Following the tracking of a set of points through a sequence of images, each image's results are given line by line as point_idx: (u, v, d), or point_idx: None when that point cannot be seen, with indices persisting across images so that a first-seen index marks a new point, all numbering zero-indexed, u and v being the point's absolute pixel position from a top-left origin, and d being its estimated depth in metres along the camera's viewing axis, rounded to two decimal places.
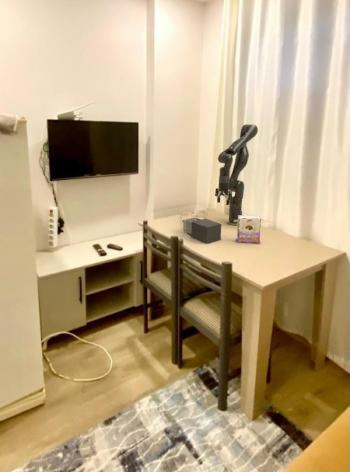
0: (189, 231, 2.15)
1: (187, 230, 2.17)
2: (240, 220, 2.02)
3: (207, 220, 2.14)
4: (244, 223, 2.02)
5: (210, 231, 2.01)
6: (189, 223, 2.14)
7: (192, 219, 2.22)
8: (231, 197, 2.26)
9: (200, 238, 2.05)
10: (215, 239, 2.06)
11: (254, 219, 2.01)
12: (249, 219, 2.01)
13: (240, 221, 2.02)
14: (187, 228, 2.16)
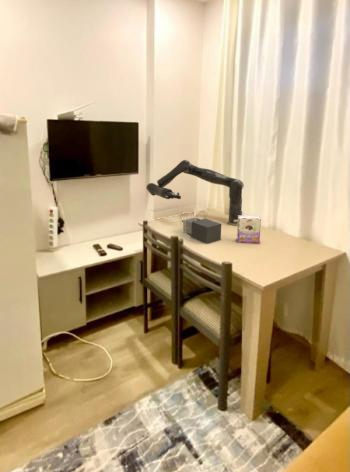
0: (189, 231, 2.15)
1: (187, 230, 2.17)
2: (240, 220, 2.02)
3: (207, 220, 2.14)
4: (244, 223, 2.02)
5: (210, 231, 2.01)
6: (189, 223, 2.14)
7: (192, 219, 2.22)
8: (171, 195, 2.29)
9: (200, 238, 2.05)
10: (215, 239, 2.06)
11: (254, 219, 2.01)
12: (249, 219, 2.01)
13: (240, 221, 2.02)
14: (187, 228, 2.16)
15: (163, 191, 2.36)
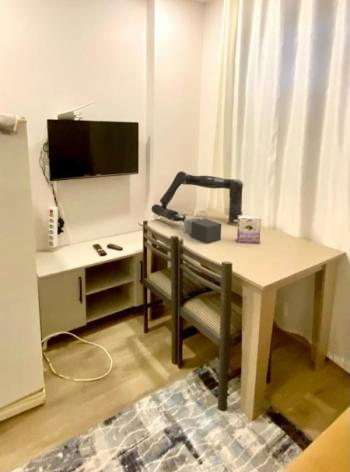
0: (190, 231, 2.14)
1: (188, 230, 2.16)
2: (240, 220, 2.02)
3: (207, 220, 2.14)
4: (244, 223, 2.02)
5: (210, 231, 2.01)
6: (190, 224, 2.13)
7: (193, 219, 2.21)
8: (177, 218, 2.26)
9: (200, 238, 2.05)
10: (215, 239, 2.06)
11: (254, 219, 2.01)
12: (249, 219, 2.01)
13: (240, 221, 2.02)
14: (188, 228, 2.16)
15: (169, 213, 2.34)
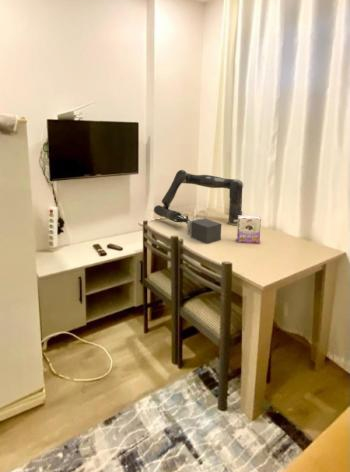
0: None
1: None
2: (240, 220, 2.02)
3: (207, 220, 2.14)
4: (244, 223, 2.02)
5: (210, 231, 2.01)
6: None
7: (196, 220, 2.19)
8: (180, 219, 2.24)
9: (200, 238, 2.05)
10: (215, 239, 2.06)
11: (254, 219, 2.01)
12: (249, 219, 2.01)
13: (240, 221, 2.02)
14: None
15: (172, 214, 2.32)
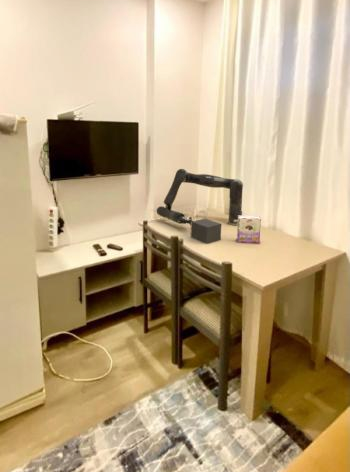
0: None
1: None
2: (240, 220, 2.02)
3: (207, 220, 2.14)
4: (244, 223, 2.02)
5: (210, 231, 2.01)
6: None
7: None
8: (184, 220, 2.21)
9: (200, 238, 2.05)
10: (215, 239, 2.06)
11: (254, 219, 2.01)
12: (249, 219, 2.01)
13: (240, 221, 2.02)
14: None
15: (175, 215, 2.29)
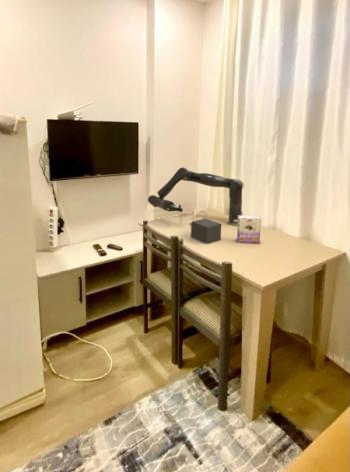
0: None
1: None
2: (240, 220, 2.02)
3: (207, 220, 2.14)
4: (244, 223, 2.02)
5: (210, 231, 2.01)
6: None
7: None
8: (173, 208, 2.29)
9: (200, 238, 2.05)
10: (215, 239, 2.06)
11: (254, 219, 2.01)
12: (249, 219, 2.01)
13: (240, 221, 2.02)
14: None
15: (165, 203, 2.37)
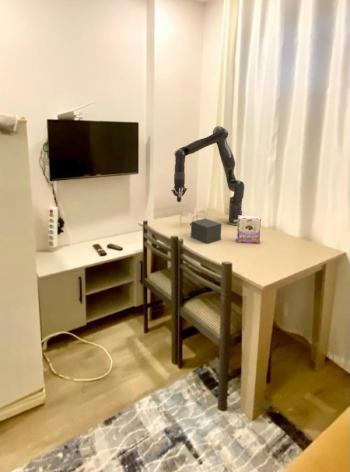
0: None
1: None
2: (240, 220, 2.02)
3: (207, 220, 2.14)
4: (244, 223, 2.02)
5: (210, 231, 2.01)
6: None
7: None
8: (176, 195, 2.25)
9: (200, 238, 2.05)
10: (215, 239, 2.06)
11: (254, 219, 2.01)
12: (249, 219, 2.01)
13: (240, 221, 2.02)
14: None
15: (177, 181, 2.23)
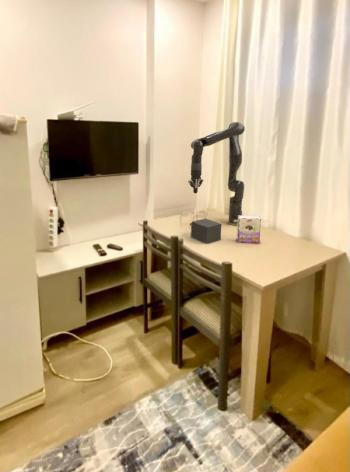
0: None
1: None
2: (240, 220, 2.02)
3: (207, 220, 2.14)
4: (244, 223, 2.02)
5: (210, 231, 2.01)
6: None
7: None
8: (192, 186, 2.25)
9: (200, 238, 2.05)
10: (215, 239, 2.06)
11: (254, 219, 2.01)
12: (249, 219, 2.01)
13: (240, 221, 2.02)
14: None
15: (194, 172, 2.23)
